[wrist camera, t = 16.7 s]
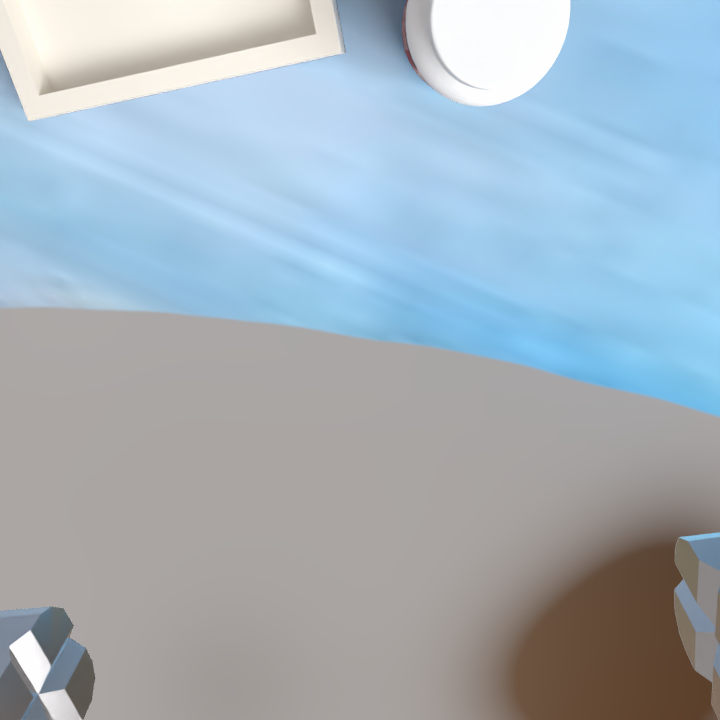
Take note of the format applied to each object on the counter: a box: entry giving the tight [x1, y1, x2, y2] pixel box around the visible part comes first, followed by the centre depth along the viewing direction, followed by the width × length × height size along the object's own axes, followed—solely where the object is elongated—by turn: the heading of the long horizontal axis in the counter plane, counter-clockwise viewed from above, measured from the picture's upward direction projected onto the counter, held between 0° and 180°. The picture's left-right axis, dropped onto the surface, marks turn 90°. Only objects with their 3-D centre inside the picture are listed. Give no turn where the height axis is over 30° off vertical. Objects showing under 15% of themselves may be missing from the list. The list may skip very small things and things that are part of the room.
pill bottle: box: [402, 0, 570, 106], centre depth 26 cm, size 6×6×11 cm
